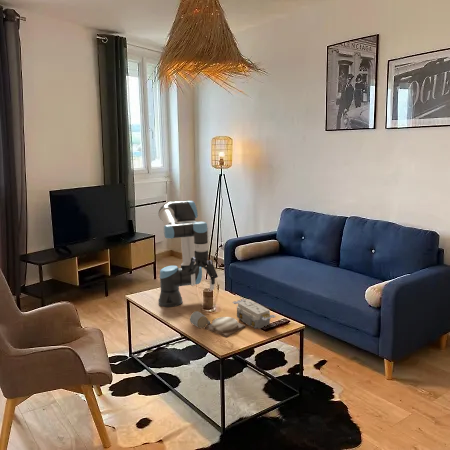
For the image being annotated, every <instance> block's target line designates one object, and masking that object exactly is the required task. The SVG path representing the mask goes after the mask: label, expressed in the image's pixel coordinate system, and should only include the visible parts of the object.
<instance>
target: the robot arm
mask: <svg viewBox="0 0 450 450" xmlns="http://www.w3.org/2000/svg"><path fill="white" fill-rule="evenodd" d="M198 216H199V215H198V209H197V205H196V203H195V201H194V200H188V199H187V200H179V201H178V200H177V201H168V202H166V203H164V204H162V205H161V207H160V208H159V209H158V218H159V220H161V222H162V223H163V225H164V226H163V235H164V239H178V238H180V242H181V243H180V244H181V253H182V255H181V257H182V262H181V264H180V267H178V266H177V265H167V266H165V267H163V268H161V269H160V271H159V283H160V284H159V285H160V287H159V289H160V293H159V297H158V305H159V306H160V307H165V308H169V307H170V308H173V307H177V306H179V305H181V304H182V303H183V297H182V294H181V292H180V287H185V286H192V287H194V286H195V285H199V284H201V282H202V279H203V269H204V270H205V271H206V272H207V274H208V277H209V278H210V279H209V290H210V292H211V291H214V290H215V285H216V280H215V279H217V278H218V277H219V275H218V273H217V271H216V268H215V266H214V262H213V261H214V260H212V259H211V260H209V259H208V258H209V239H208V237H209V236H208V231H209V228H208V223H207V222H206V221H196V219H198Z"/></svg>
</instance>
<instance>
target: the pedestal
mask: <svg viewBox="0 0 450 450" xmlns="http://www.w3.org/2000/svg"><path fill="white" fill-rule="evenodd" d="M244 328H246V324H245V323H244V324H243V323H240V322H239V321H238V320H237V319H236V318H235V317H231V316H220V317H217V318H214V319H213V320H212V321H211V323H210V324H207V325H206V326H205V327H204V328H203V329H204V330H206V331H208V332H211V333H214V334H216V335H220V336H223V337H226V338H227V337H229V336H231V335H233V334H235V333H237V332H239V331H240V330H242V329H244Z"/></svg>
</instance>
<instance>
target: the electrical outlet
mask: <svg viewBox="0 0 450 450" xmlns="http://www.w3.org/2000/svg"><path fill="white" fill-rule="evenodd" d="M232 303H233V304H234V305H237V306H236V318H238V319H239V320H240V321H241V322H243V323H244V324H245V325H248V326H249V327H252V328H254V329H255V330H256V329H257V330H259V329H262V328H265V327H267V325H268V326H269V325H270V323H271V318H273V319H274V318H276V315H275V314H271V312H270V309H269V308H267V307H265V306H263V305H261V304H259V303H258V302H256V301H253V300H251V299H250V298H249V299H244V298H241V299H240V300H238V299H237V301H235V300H234V301H232ZM264 326H265V327H264Z"/></svg>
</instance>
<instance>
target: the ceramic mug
mask: <svg viewBox="0 0 450 450" xmlns="http://www.w3.org/2000/svg"><path fill="white" fill-rule="evenodd" d="M189 317H190V318H189V322H190V323H191V324H192V325H194V326H196V327H197V328H198V329H204V327H206V326H208V325H210V324H211V321H210V320H209V319H208V318H207V316H206V315H204V314H203V313H201V312H200V311H198V310H197V311H196V310H195V311H194V312H192V313H191V314H190V316H189Z"/></svg>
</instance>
